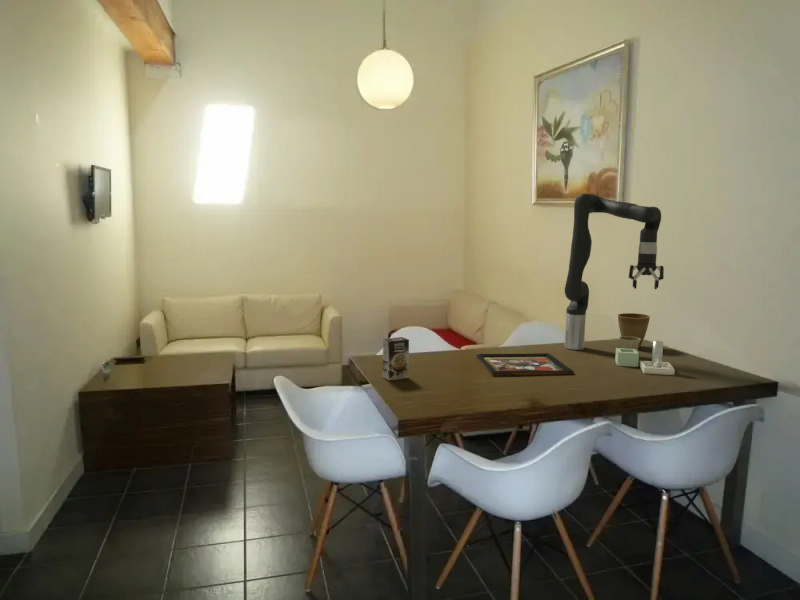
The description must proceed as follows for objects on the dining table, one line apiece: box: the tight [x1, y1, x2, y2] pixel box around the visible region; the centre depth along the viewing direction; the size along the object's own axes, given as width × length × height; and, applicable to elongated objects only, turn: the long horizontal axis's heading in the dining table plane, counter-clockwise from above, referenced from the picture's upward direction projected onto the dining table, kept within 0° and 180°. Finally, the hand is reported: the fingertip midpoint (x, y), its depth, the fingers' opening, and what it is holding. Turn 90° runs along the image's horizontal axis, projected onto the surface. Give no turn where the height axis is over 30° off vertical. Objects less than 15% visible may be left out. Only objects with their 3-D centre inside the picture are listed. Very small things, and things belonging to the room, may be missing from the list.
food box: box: [382, 336, 410, 381], centre depth 253 cm, size 9×6×16 cm
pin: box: [651, 340, 664, 368], centre depth 265 cm, size 4×4×12 cm
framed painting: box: [476, 352, 575, 377], centre depth 273 cm, size 38×35×3 cm
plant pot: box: [617, 312, 651, 349], centre depth 309 cm, size 15×15×16 cm
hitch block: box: [614, 347, 640, 368], centre depth 276 cm, size 9×9×6 cm
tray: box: [638, 360, 676, 376], centre depth 266 cm, size 12×12×2 cm
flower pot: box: [618, 336, 641, 351], centre depth 290 cm, size 9×9×9 cm
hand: (645, 288), depth 277 cm, fingers open, 8 cm apart
